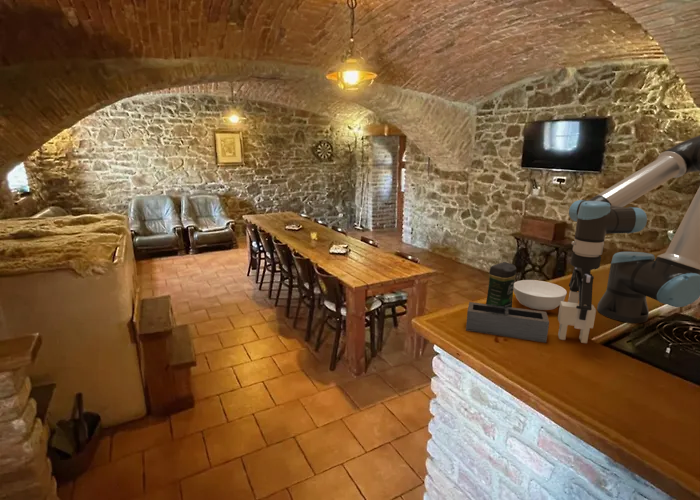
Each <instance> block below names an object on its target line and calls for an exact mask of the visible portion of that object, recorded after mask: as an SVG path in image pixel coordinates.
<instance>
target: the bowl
mask: <svg viewBox="0 0 700 500" xmlns="http://www.w3.org/2000/svg"><path fill="white" fill-rule="evenodd" d="M567 294H568V293H567V290H566V289H565V288H564V287H563V286H560V285H559V284H556V283H553V282H548V281H544V280H537V279H536V280H535V279H523V280H517V281H514V288H513V295H515V298H516V300H517V301H518V302H519V304H520V305H523V306H524V307H527V308H528V309H529V308H530V309H531V310H535V311H550V310H555V309H556V308H558V307H560V301H563V302H565V299H566V296H567Z"/></svg>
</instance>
